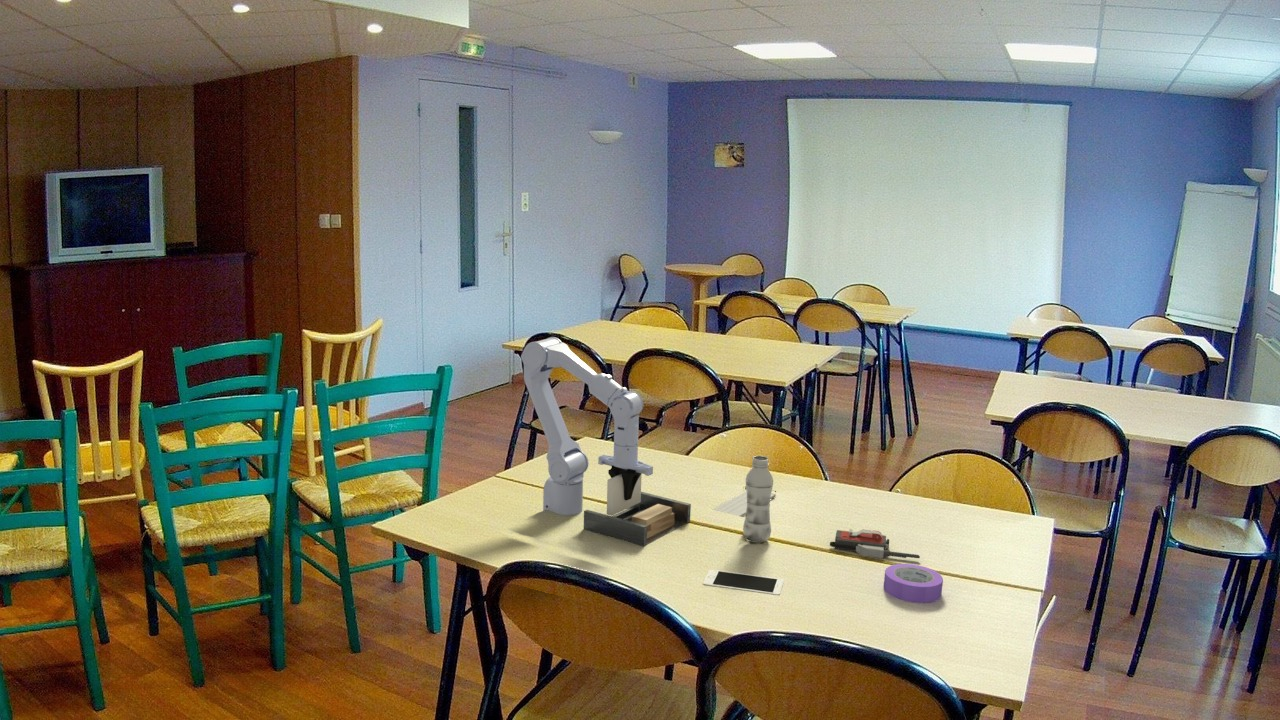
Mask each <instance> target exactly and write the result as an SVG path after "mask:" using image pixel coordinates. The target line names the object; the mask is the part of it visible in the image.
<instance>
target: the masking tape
mask: <svg viewBox="0 0 1280 720" xmlns="http://www.w3.org/2000/svg"><path fill="white" fill-rule="evenodd" d="M943 584H944V578H943V576H942V574H940V573H939V572H937V571H936V570H934V569H932V568H929V567H927V566H922V565H919V564H913V563H898V564H897V563H896V564H893V565H892V564H891V565H890V566H887V567H886V568H885V570H884V579H883V591H884V592H885V593H886V594H887V595H889V596H890V597H892V598H894V599H896V600H900V601H904V602H906V603H907V602H908V603H913V604H914V603H916V604H928V603H935V602H937V601H938V600H940V599H941V597H942V593H943Z"/></svg>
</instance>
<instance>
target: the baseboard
mask: <svg viewBox="0 0 1280 720" xmlns="http://www.w3.org/2000/svg"><path fill="white" fill-rule="evenodd" d="M744 490H746V485H745V486H744ZM774 492H775V493H772V492H771V498H770V499H772V498H773V499H775V498H776V495H777V494H776V492H777V491H776V490H774ZM741 493H742V492H741ZM739 494H740V493H739ZM733 497H734V498H733ZM733 497H731V498H732V500H729V499H728V500H729V501H728V500H725V501H724V502H722V503H721V504H719V505H717V506H715V507H714V508H711V509H712V511H713V510H714V511H717V512H720V513H726V514H729V515H733V516H737V517H741V518H744V517H745V516H746V509H747V491H746V492H744V493H742V494H740V495H739V496H737V497H735V496H733ZM774 497H775V498H774ZM773 499H772V500H773ZM744 515H745V516H744ZM743 516H744V517H743Z"/></svg>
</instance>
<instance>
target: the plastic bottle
mask: <svg viewBox="0 0 1280 720" xmlns="http://www.w3.org/2000/svg"><path fill="white" fill-rule="evenodd" d="M751 466H752V468H751V469H750V470H749V471H748V472H747V474H746V477H745V486H746V487H745V488H746V489H745V490H746V491H747V509H746V515H745V516H744V518H745V519H744V522H743V528H742V532H743V533H742V534H743V535H744V537H745V539H746V540H747V541H749V542H753V543H765V542H767V541H768V540H769V539H770V537H771V533H772V526H771V525H772V524H771V516H770V515H771V514H770V513H771V512H770V506H771V500H770V498H771V493H772V492H773V487H774V477H773V475H772V473H771V471H770V469H768V467H769V466H770V464H769V457H767V456H765V455H754V456H752V463H751Z"/></svg>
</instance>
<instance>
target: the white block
mask: <svg viewBox="0 0 1280 720" xmlns="http://www.w3.org/2000/svg"><path fill="white" fill-rule="evenodd" d="M606 484H607V487H606V489H607V490H606V515H609V516H613V515H615V514H618V513H620V512H622V511H624V510H626V509H628V508H630V507H632V506H634V505H636V504H638V503H640V502H641V492H642V474H641V475H640V477H639V479H638V480H637V482H636V485H635V487H634V490H633V494H632V498H631V499H629V500H624V483H623V478H622V475H621V474H620V475H618V476H615V477H613V478H611V477H610V478H608V479H607V483H606Z"/></svg>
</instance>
